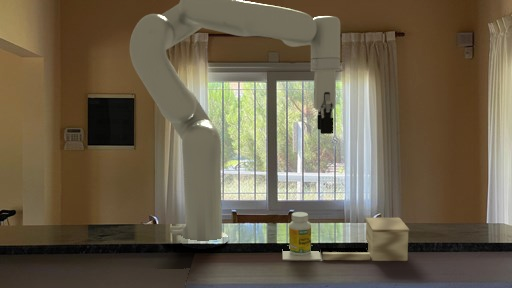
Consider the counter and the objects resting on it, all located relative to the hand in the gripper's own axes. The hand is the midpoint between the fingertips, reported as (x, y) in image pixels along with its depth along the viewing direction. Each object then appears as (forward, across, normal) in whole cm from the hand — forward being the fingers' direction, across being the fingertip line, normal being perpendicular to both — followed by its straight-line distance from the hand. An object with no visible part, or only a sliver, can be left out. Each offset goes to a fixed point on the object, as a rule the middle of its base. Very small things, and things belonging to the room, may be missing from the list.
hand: (325, 131), depth 128 cm
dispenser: (+28, +14, +7) cm, 32 cm away
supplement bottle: (+28, +14, -7) cm, 32 cm away
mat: (+28, +14, -7) cm, 32 cm away
